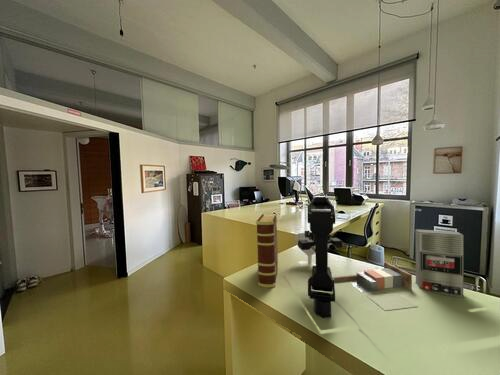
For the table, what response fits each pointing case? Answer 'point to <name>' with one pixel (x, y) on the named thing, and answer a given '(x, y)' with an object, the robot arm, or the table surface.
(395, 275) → the book
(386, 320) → the table surface
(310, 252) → the heart sculpture
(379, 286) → the salmon pink box
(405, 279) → the shelf
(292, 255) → the table surface
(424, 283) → the cassette tape recorder
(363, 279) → the bookend
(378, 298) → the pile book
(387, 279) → the cream rectangular block
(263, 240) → the decorative book
